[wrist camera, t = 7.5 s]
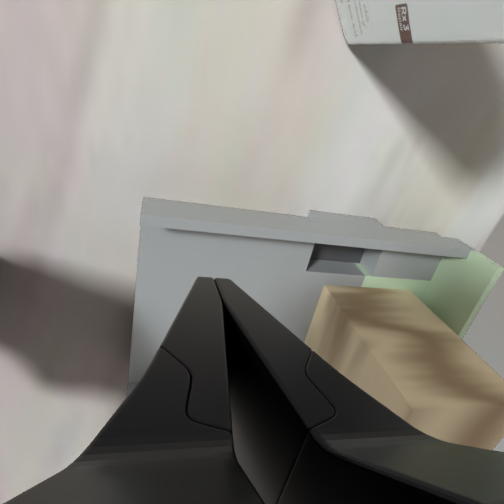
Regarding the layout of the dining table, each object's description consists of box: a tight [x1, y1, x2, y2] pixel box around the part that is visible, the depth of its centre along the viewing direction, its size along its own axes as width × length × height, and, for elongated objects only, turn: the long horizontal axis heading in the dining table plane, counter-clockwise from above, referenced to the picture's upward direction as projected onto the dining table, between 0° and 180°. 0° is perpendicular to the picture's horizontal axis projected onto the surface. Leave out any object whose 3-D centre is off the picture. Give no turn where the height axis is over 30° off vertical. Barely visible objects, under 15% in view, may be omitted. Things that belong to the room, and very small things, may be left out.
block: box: [304, 285, 504, 450], centre depth 22 cm, size 7×5×10 cm
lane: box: [127, 197, 504, 396], centre depth 24 cm, size 21×14×6 cm, turn 78°
